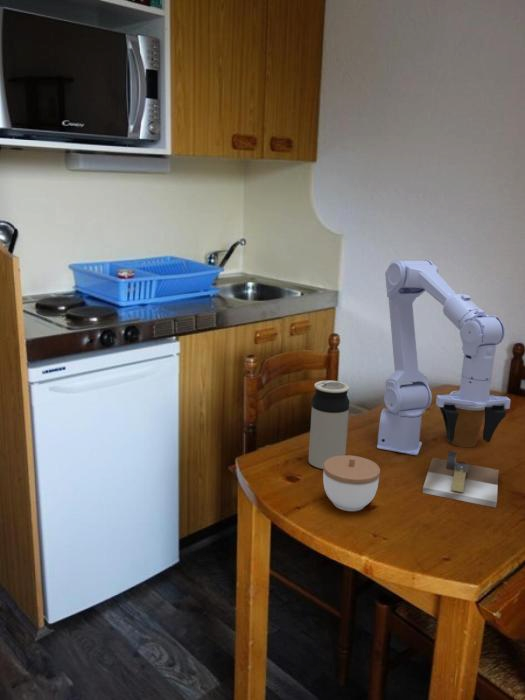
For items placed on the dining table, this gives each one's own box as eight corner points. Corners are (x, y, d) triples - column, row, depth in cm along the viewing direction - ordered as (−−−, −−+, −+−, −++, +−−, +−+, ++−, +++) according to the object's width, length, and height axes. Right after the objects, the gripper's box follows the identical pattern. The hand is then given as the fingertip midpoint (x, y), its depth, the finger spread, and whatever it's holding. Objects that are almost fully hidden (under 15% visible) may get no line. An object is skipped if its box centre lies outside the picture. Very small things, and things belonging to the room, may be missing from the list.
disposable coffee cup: (477, 453, 145) (484, 405, 142) (437, 443, 150) (443, 396, 147) (487, 440, 153) (493, 394, 150) (448, 432, 158) (454, 387, 155)
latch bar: (453, 472, 131) (455, 460, 130) (467, 474, 130) (468, 463, 129) (449, 489, 123) (451, 477, 122) (464, 492, 122) (466, 480, 121)
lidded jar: (309, 497, 121) (312, 452, 118) (353, 486, 126) (357, 443, 124) (342, 522, 112) (346, 475, 109) (388, 510, 117) (393, 464, 115)
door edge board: (422, 492, 124) (423, 487, 124) (431, 462, 139) (432, 457, 139) (496, 507, 119) (496, 502, 119) (497, 474, 134) (498, 469, 134)
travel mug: (351, 463, 137) (358, 386, 132) (329, 474, 131) (335, 393, 126) (323, 452, 142) (328, 377, 137) (300, 462, 136) (305, 384, 132)
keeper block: (446, 468, 133) (447, 458, 133) (448, 461, 137) (449, 451, 136) (453, 470, 133) (455, 459, 132) (455, 462, 137) (456, 452, 136)
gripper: (447, 381, 119) (439, 447, 122) (521, 383, 119) (511, 448, 123) (435, 371, 125) (428, 433, 129) (505, 372, 126) (496, 435, 130)
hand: (468, 440), depth 126 cm, fingers open, 7 cm apart
